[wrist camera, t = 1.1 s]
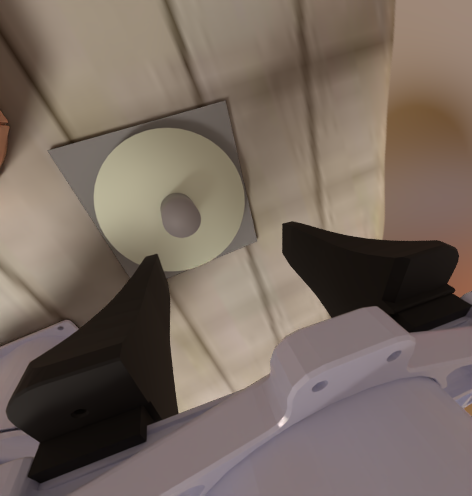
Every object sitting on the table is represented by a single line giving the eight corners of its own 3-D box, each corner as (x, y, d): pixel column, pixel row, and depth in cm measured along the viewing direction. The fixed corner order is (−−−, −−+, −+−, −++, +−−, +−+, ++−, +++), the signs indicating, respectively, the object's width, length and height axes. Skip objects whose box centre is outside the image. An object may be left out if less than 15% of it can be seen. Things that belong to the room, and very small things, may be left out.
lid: (140, 285, 23) (139, 310, 20) (59, 155, 16) (36, 161, 13) (252, 239, 25) (268, 255, 22) (221, 108, 19) (237, 103, 15)
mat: (138, 288, 24) (137, 290, 23) (49, 150, 16) (47, 150, 16) (255, 239, 26) (257, 241, 26) (224, 101, 19) (225, 100, 18)
